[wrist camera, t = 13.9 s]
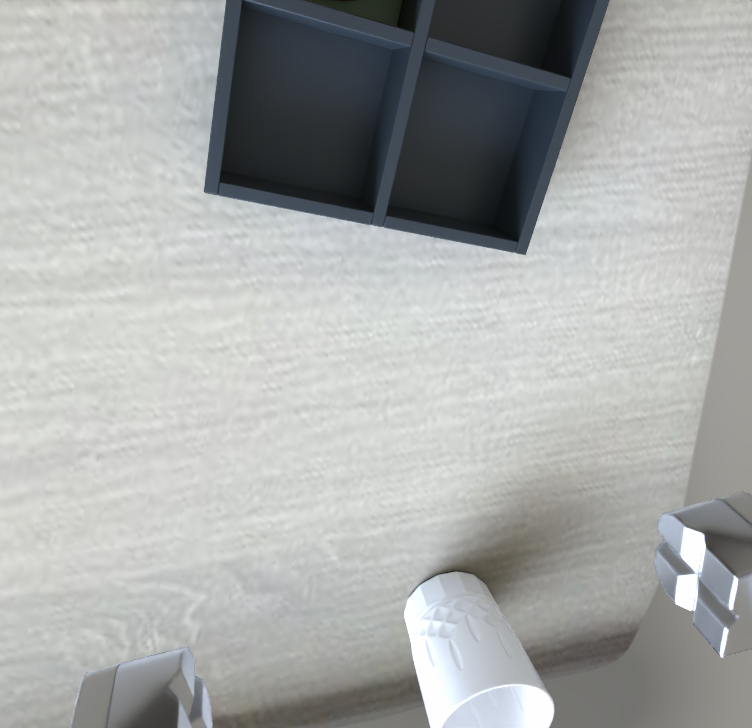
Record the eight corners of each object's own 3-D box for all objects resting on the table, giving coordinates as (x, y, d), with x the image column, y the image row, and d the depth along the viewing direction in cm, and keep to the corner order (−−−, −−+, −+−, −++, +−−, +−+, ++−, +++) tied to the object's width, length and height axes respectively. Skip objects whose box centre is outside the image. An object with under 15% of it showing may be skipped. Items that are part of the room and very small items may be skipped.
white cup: (470, 547, 45) (529, 664, 36) (509, 607, 48) (571, 727, 39) (378, 599, 45) (413, 728, 36) (423, 655, 49) (465, 785, 40)
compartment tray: (207, 177, 30) (203, 192, 26) (255, -226, 24) (259, -282, 20) (493, 235, 35) (525, 255, 31) (594, -94, 29) (649, -120, 25)
